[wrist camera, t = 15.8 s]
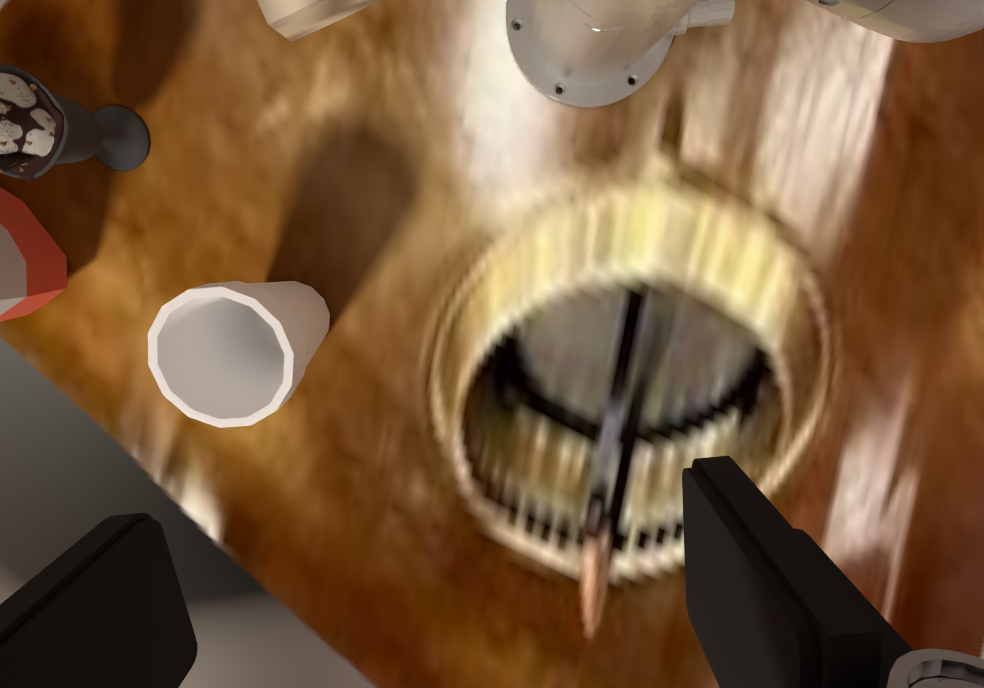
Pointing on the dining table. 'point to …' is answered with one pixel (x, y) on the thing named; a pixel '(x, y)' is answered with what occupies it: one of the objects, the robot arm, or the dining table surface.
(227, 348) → the foam cup
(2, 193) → the french fries container
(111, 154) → the sundae
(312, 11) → the riser block
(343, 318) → the dining table surface
